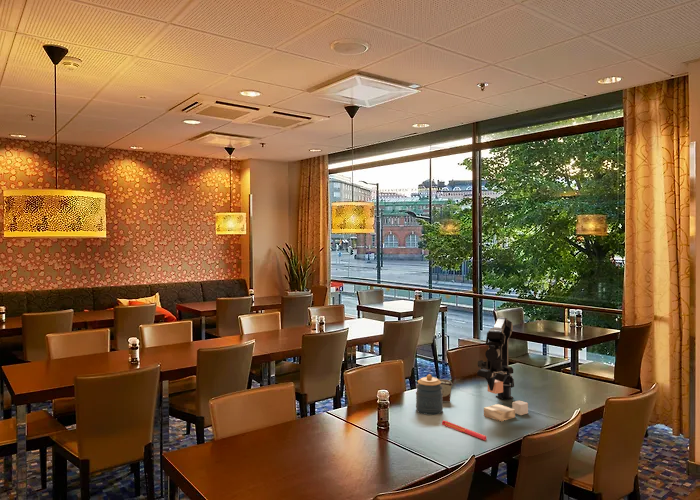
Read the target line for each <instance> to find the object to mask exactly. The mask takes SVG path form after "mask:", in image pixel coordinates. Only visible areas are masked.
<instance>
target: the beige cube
mask: <svg viewBox="0 0 700 500" xmlns="http://www.w3.org/2000/svg"><path fill="white" fill-rule="evenodd" d="M511 405H512V406H511V408H512V409H515V415H519V416H523V415H526V414H529V403H528V402H526V401H522V400H520V399H519V400H515V401H513V402H512V403H511Z"/></svg>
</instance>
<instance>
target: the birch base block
mask: <svg viewBox="0 0 700 500" xmlns="http://www.w3.org/2000/svg"><path fill="white" fill-rule="evenodd" d="M483 416H484V417H486V418H489V417H490V419H492V418H493V420H495V419H496V420H495V421H498V420H499V421H498V422H500V421H501V422H505V421H508V420H510V419H514V418H516V413H515V409H512V407H509V406H506V405H502V404H499V403H496V404H492V405H489V406H485V407H483ZM504 420H505V421H504Z"/></svg>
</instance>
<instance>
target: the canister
mask: <svg viewBox="0 0 700 500" xmlns="http://www.w3.org/2000/svg"><path fill="white" fill-rule="evenodd" d="M438 379H439V378H437V377H434V376H432V374H430V373H429V374H427V375H426V376H424V377H421V378H420V379H418V380H417V384H416V385H415V388H416V391H415V396H416V397H415V402H416V403H415V409H416V410H415V411H416V412H418V413H419V414H422V415H429V416H430V415H431V416H432V415H433V416H434V415H439V414H441V413H442V412H443V410H444V405H443V403H444V402H443V393H442V389H443V386H442V385H441V381H440V380H438Z"/></svg>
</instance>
